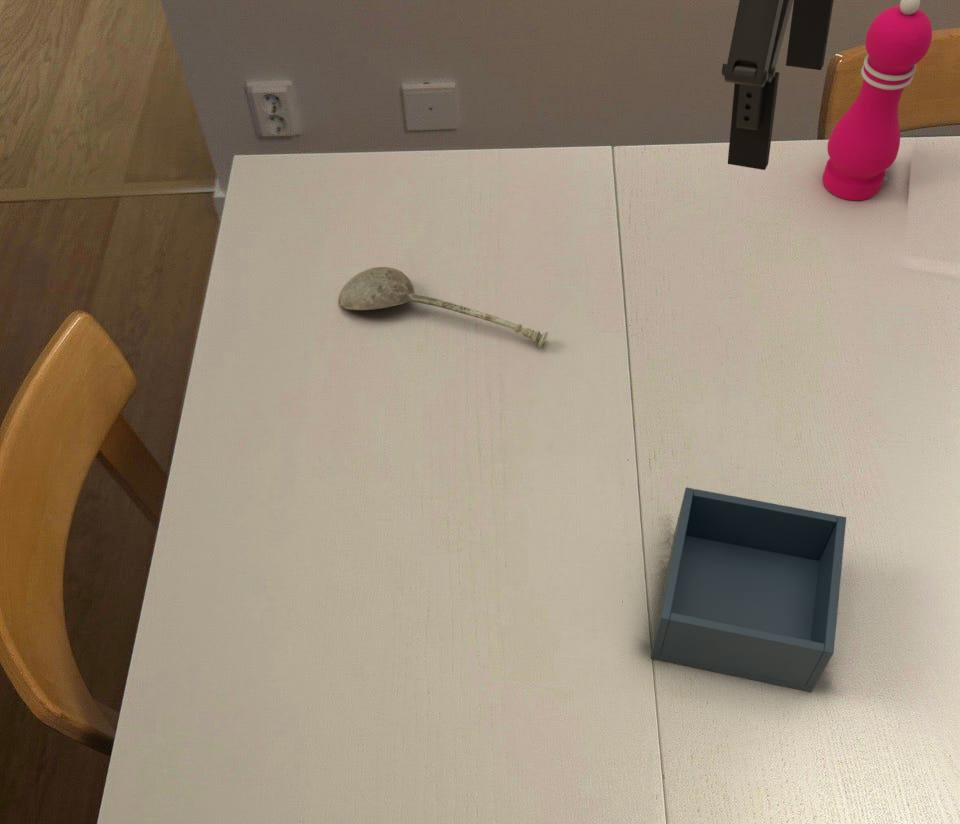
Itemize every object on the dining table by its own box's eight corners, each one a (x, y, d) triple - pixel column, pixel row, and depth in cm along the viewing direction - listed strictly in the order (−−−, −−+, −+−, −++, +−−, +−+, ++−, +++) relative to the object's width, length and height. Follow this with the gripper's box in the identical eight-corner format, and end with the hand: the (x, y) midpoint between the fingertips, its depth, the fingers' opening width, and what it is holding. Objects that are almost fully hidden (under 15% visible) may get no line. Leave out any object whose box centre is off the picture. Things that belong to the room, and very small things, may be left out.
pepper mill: (884, 165, 117) (951, -24, 100) (885, 207, 114) (955, 19, 96) (817, 158, 118) (872, -30, 101) (817, 200, 114) (873, 12, 97)
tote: (825, 561, 90) (846, 516, 85) (811, 692, 84) (833, 653, 78) (674, 532, 92) (685, 486, 87) (650, 658, 86) (660, 617, 80)
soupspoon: (358, 273, 110) (330, 317, 107) (352, 247, 107) (323, 292, 104) (557, 324, 105) (533, 371, 102) (557, 298, 102) (532, 346, 99)
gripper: (819, -319, 68) (778, 23, 85) (683, -158, 56) (668, 200, 74) (940, -317, 66) (873, 34, 83) (824, -149, 54) (775, 220, 71)
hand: (777, 113), depth 78 cm, fingers open, 13 cm apart
